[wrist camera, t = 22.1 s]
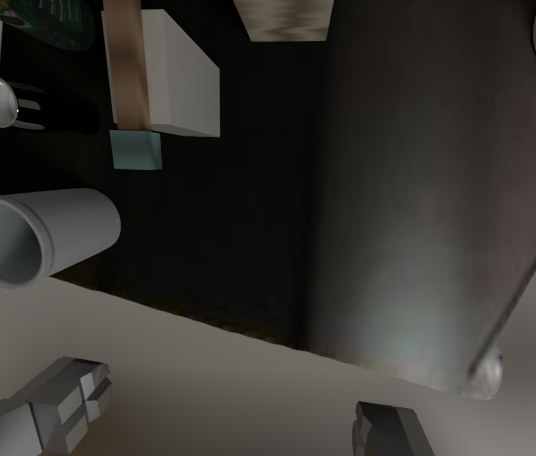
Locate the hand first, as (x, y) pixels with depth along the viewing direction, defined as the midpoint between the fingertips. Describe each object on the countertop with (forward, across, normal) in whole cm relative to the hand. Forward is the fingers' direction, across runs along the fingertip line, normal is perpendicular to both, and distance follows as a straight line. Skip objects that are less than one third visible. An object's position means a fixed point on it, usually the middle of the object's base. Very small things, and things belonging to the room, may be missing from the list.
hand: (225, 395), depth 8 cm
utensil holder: (+41, +42, +7) cm, 59 cm away
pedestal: (+41, +17, -16) cm, 47 cm away
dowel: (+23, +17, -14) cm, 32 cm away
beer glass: (+41, +40, -13) cm, 59 cm away
